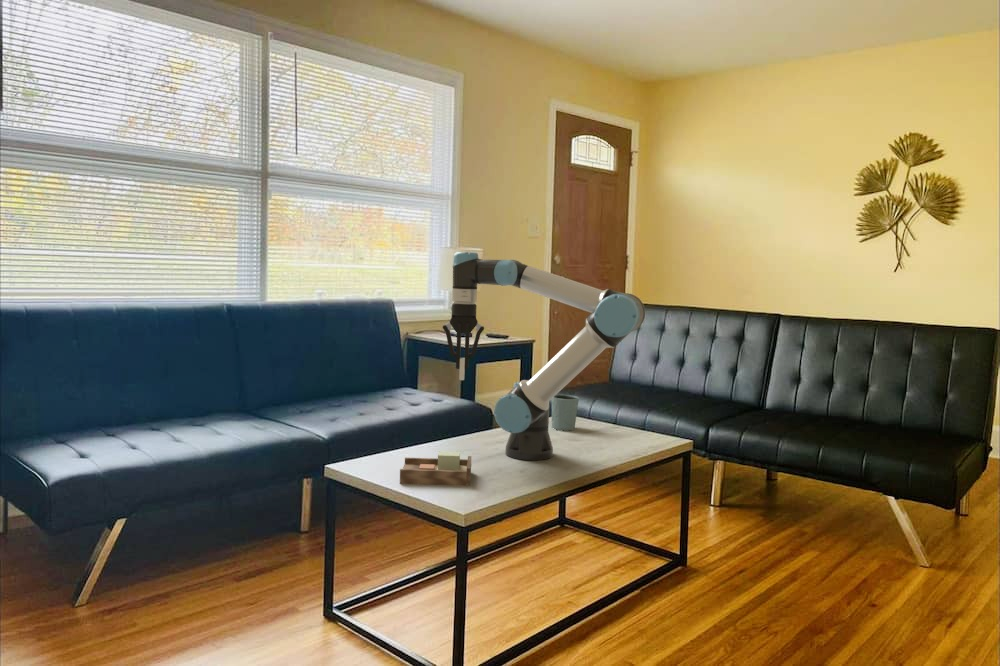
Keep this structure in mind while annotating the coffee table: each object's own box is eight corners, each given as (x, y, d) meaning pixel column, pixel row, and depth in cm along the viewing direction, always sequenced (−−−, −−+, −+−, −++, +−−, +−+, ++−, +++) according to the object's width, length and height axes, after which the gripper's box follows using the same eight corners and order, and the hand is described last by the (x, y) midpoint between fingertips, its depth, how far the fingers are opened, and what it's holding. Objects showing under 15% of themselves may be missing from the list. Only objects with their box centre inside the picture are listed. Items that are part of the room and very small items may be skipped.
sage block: (459, 465, 220) (460, 452, 220) (458, 470, 216) (459, 456, 216) (438, 465, 220) (438, 451, 220) (437, 469, 216) (437, 455, 216)
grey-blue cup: (546, 426, 289) (547, 394, 288) (571, 425, 292) (572, 393, 291) (556, 432, 280) (557, 399, 279) (581, 431, 283) (583, 398, 282)
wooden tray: (470, 473, 222) (471, 456, 222) (469, 486, 209) (470, 468, 209) (404, 471, 222) (405, 454, 221) (399, 484, 209) (400, 466, 209)
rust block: (434, 478, 215) (434, 464, 215) (433, 482, 211) (433, 468, 211) (420, 478, 215) (420, 464, 214) (418, 482, 211) (419, 467, 210)
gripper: (442, 302, 231) (439, 380, 233) (485, 304, 231) (482, 382, 234) (443, 301, 239) (441, 376, 241) (485, 302, 239) (483, 378, 241)
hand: (461, 379), depth 237 cm, fingers closed
